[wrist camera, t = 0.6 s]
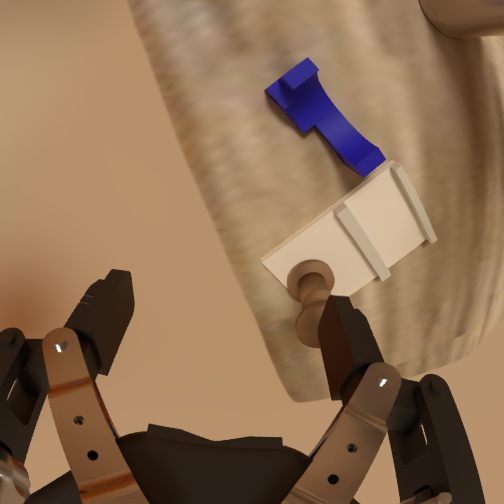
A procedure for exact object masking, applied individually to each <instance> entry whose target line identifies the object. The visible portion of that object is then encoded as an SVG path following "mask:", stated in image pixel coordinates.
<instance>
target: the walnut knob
mask: <svg viewBox="0 0 504 504" xmlns="http://www.w3.org/2000/svg"><path fill="white" fill-rule="evenodd" d="M334 283H335V278H334V274H333V272H332V270H331V268H330V267H329V265H328V264H326V263H325V262H323V261H321V260H316V259H310V260H305V261H302V262H300V263H298V264H297V265H295V266H294V267H293V268H292V269H291V270H290V272H289V274H288V276H287V287H288V291H289V294H290V295H291V296H292V298H294V299H295V300H297V301H299V302H301V304H302V308H303V311H302V312H301V313H300V314H299V316H298V318H297V320H296V332H297V336H298V339H299V340H300V341H301V342H302V343H303V344H304V345H306V346H309V347H312V348H320V344H319V340H318V324H319V321H320V318H321V315H322V313H323V310H324V307H325V304H326V302H327V299H328V297H329V296H330V295H331V293H330V292H331V291H332V289H333V287H334Z"/></svg>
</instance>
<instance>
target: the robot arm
mask: <svg viewBox="0 0 504 504" xmlns="http://www.w3.org/2000/svg"><path fill="white" fill-rule="evenodd" d="M419 1H420V4H421V7H422V9H423V11H424V13H425V14H426V16H427V18H428V19H429V20H430V21H431V23H432V24H433V25H434V26H435V27H436V28H437V29H438V30H440V31H441V32H442V33H443V34H445V35H447V36H449V37H451V38H454V39H463V38H472V37H484V36H499V35H504V0H419ZM134 303H135V302H134V294H133V287H132V277H131V273H130V272H129V271H124V270H116V269H112V270H111V271H110V272H109V274H108V275H107V276H106V278H105V280H101V279H99V280H98V281H96V282H95V283H93V284H92V285H91V286H90V287H89V289H88V290H87V291H86V293H85V294H84V296H83V297H82V299H81V300H80V303H78V305H77V306H76V308H75V309H74V311H73V313H72V314H71V316H70V317H69V319H68V321H67V322H66V324H65V325H64V327H62V328H56V329H53V330H51V331H50V332H49V333H47V334H46V336H45V337H44V339H26V338H25V336H24V334H23V332H22V331H21V330H19V329H17V328H8V329H5V330H3V331H2V332H0V504H360V503H359V502H357V501H356V500H355V499H354V498H353V497H354V495H355V494H356V492H357V490H358V488H359V487H360V485H361V483H362V481H363V480H364V478H365V476H366V474H367V472H368V470H369V468H370V466H371V465H372V463H373V460H374V459H375V457H376V455H377V452H378V450H379V448H380V446H381V444H382V442H383V440H384V437H385V435H386V433H387V431H388V436H389V441H390V445H391V450H392V455H393V461H394V466H395V471H396V478H397V483H398V490H399V496H400V504H485V499H484V495H483V490H482V486H481V482H480V478H479V474H478V470H477V467H476V463H475V460H474V456H473V453H472V450H471V447H470V444H469V440H468V437H467V434H466V431H465V428H464V426H463V423H462V420H461V417H460V415H459V412H458V409H457V406H456V404H455V401H454V399H453V396H452V394H451V391H450V389H449V386H448V385H447V383H446V382H445V380H444V379H442V378H441V377H440V376H438V375H435V374H427V375H425V376H424V377H423V378H422V379H421V380H420V381H419V382H417V381H412V380H407V379H403V378H401V376H400V374H399V372H398V371H397V370H396V369H395V368H394V367H393V366H391V365H389V364H387V363H385V362H384V360H383V357H382V355H381V352H380V350H379V347H378V345H377V342H376V340H375V337H374V336H373V332H372V330H371V329H370V325H369V323H368V321H367V318H366V317H365V316H364V315H363V314H362V312H361V311H360V310H359V309H354V308H353V306H352V303H351V301H350V299H349V297H348V296H340V295H330V296H329V297H328V299H327V302H326V304H325V307H324V310H323V313H322V315H321V318H320V321H319V324H318V340H319V344H320V348H321V353H322V357H323V362H324V366H325V371H326V376H327V380H328V385H329V390H330V395H331V399H332V401H333V400H342V404H343V406H342V407H341V409H340V411H339V412H338V414H337V415H336V417H335V418H334V420H333V421H332V423H331V425H330V426H329V428H328V429H327V431H326V432H325V434H324V435H323V437H322V438H321V440H320V441H319V442H318V444H317V445H316V446H315V448H314V449H313V450H312V452H311V453H310V454H309V455H308V456H307V455H305V454H304V453H302V452H300V451H298V450H296V449H293V448H290V447H287V446H283V443H282V437H252V436H249V437H243V438H236V439H230V440H222V441H212V440H209V439H205V438H203V437H200V436H197V435H195V434H192V433H189V432H186V431H184V430H181V429H176V428H170V427H164V426H159V425H153V424H149V425H148V430H147V431H143V432H135V433H131V434H127V435H125V436H122V437H120V436H119V434H118V432H117V430H116V428H115V427H114V425H113V422H112V420H111V418H110V416H109V414H108V412H107V409H106V407H105V404H104V402H103V399H102V397H101V395H100V392H99V390H98V387H97V384H96V382H95V380H96V377H97V375H98V374H102V375H106V376H107V375H108V373H109V371H110V368H111V366H112V363H113V361H114V358H115V355H116V353H117V351H118V348H119V346H120V343H121V341H122V339H123V336H124V334H125V332H126V329H127V327H128V325H129V322H130V320H131V318H132V316H133V312H134V305H135V304H134ZM14 381H16V382H15V385H14V387H13V389H12V391H11V393H10V396H9V398H8V394H9V392H10V390H11V388H12V385H13V384H14ZM47 395H48V400H49V404H50V408H51V411H52V415H53V419H54V422H55V425H56V429H57V432H58V435H59V438H60V441H61V444H62V447H63V450H64V453H65V455H66V458H67V461H68V463H69V466H70V469H71V470H70V471H68V472H67V473H65V474H64V475H62V476H61V477H59V478H57V479H56V480H54V481H52V482H51V483H49V484H47V485H46V486H44V487H43V488H41V489H39V490H38V491H36V492H34V493H32V494H30V492H29V488H30V481H29V476H28V472H27V470H26V468H25V467H24V463H25V459H26V455H27V452H28V448H29V445H30V442H31V439H32V436H33V433H34V430H35V427H36V423H37V421H38V418H39V415H40V412H41V409H42V407H43V404H44V401H45V399H46V396H47ZM7 398H8V400H7ZM421 425H423V428H424V431H425V435H426V438H427V445H426V441H425V438H424V434H423V430H422V427H421Z"/></svg>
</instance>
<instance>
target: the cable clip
mask: <svg viewBox="0 0 504 504" xmlns="http://www.w3.org/2000/svg"><path fill="white" fill-rule="evenodd" d="M318 71H319V69H318V68H317V67H316V66H315V65H314V63H313V62H312V61H311V60H310V59H309V58H306V59H305V60H303V61H302V62H300V63H299V64H298V65H296V66H295V67H294V68H292V69H291V70H290V71H288V72H287V73H286V74H284V75H283V76H282V77H281V78H279V79H278V80H277V81H276V82H274V83H273V84H272V85H271V86H269V87H268V88H267V89H266V90H264V91H265V92H266V93H267V94H268V95H269V96H270V97H271V98H272V99H273V100H274V101H275V102H276V103H277V105H278V106H279V107H280V108H281V109H282V110H283V111H284V112H285V113H286V115H287V116H288V117H289V118H290V119H291V120H292V121H293V122H294V124H295V125H296V126H297V127H298V128H299V129H300V130H301V132H303V133H305V132H306V131H307V130H309V129H310V128H311V127H312V126H315V127H316V129H317V130H318V131H319V132H320V134H321V135H322V136H323V137H324V139H325V140H326V141H327V142H328V144H329V145H330V146H331V147H332V149H333V150H334V151H335V153H336V154H337V155H338V156H339V158H340V159H341V160H342V162H343V163H344V164H345V165H346V166H347V167H349V168H350V169H352V170H353V171H355V172H356V173H357V174H359V175H360V176H362V177H363V178H364V177H365V176H367V175H368V174H369V173H370V172H372V171H373V170H374V169H375V168H376V167H378V166H379V165H380V164H381V163H383V162H384V161H385V160H386V159H385V157H384V155H383V154H382V152H381V151H380V149H379V148H378V147H376V146H375V145H373V144H372V143H370V142H369V141H368V140H366V139H365V138H364V137H363V136H362V135H361V134H360V133H359V132H358V131H357V130H356V129H355V128H354V127H353V126H352V125H351V124H350V123H349V122H348V121H347V120H346V119H345V117H344V116H343V115H342V114H341V113H340V112H339V110H338V109H337V108H336V107H335V105H334V104H333V103H332V101H331V100H330V99H329V97H328V96H327V94H326V93H325V91H324V89H323V88H322V86H321V84H320V82H319V80H318V76H317V72H318Z"/></svg>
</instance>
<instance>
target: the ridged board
mask: <svg viewBox="0 0 504 504" xmlns="http://www.w3.org/2000/svg"><path fill="white" fill-rule="evenodd" d="M426 239H427V240H428V241H429V242H430V243H431V244H433V243H434V242H435V241H436V240H437V237H436V235H435V233H434V230H433V228H432V226H431V223H430V221H429V219H428V216H427V214H426V212H425V210H424V208H423V206H422V204H421V201H420V199H419V197H418V195H417V193H416V191H415V189H414V187H413V185H412V183H411V181H410V179H409V178H408V176H407V174H406V172H405V170H404V168H403V166H402V165H401V164H399V163H397V162H395V161H393V160H390V161H389V162H388V163H386V164H385V165H384V166H383V167H381V168H380V169H379V170H377V171H376V172H375V173H373V174H372V175H371V176H369V177H368V178H367V179H365V180H364V181H363V182H362V183H360V184H359V185H358V186H356V187H355V188H354V189H352V190H351V191H350V192H348V193H347V194H346V195H344V196H343V197H342V198H340V199H339V200H338V201H336V202H335V203H334V204H332V205H331V206H330V207H328V208H327V209H326V210H324V211H323V212H322V213H320V214H319V215H318V216H316V217H315V218H314V219H312V220H311V221H310V222H308V223H307V224H306V225H304V226H303V227H302V228H300V229H299V230H298V231H296V232H295V233H294V234H292V235H291V236H290V237H288V238H287V239H286V240H284V241H283V242H282V243H280V244H279V245H278V246H276V247H275V248H274V249H272V250H271V251H270V252H268V253H267V254H266V255H264V256H263V257H262V258H261V260H262V263H263V264H264V265H265V266H266V267H267V268H268V270H269V271H270V272H271V273H272V274H273V275H274V276H275V277H276V278H277V279H278V280H279V281H280V282H281V283H282V284H283V285H284V286H285V287H286V288H287V289H288V287H287V276H288V274H289V272H290V270H291V269H292V268H293V267H294V266H295V265H297V264H298V263H300V262H302V261H305V260H310V259H316V260H321V261H323V262H325V263H326V264H328V265H329V267H330V268H331V270H332V272H333V274H334V278H335V283H334V287H333V289H332V291H331V292H330V293H331V295H340V296H350V295H351V294H353V293H354V292H356V291H357V290H358V289H360V288H361V287H363V286H364V285H366V284H367V283H368V282H370V281H371V280H373V279H374V278H376V277H377V276H379V277H380V279H381V280H382V282H383V281H384V280H386V279H387V278H388V277H390V276H391V273H390V272H389V270H388V268H389V267H391V266H392V265H393V264H395V263H396V262H397V261H399V260H400V259H401V258H403V257H404V256H405V255H407V254H408V253H409V252H411V251H412V250H413V249H414V248H416V247H417V246H418V245H420V244H421V243H422V242H423V241H425V240H426Z"/></svg>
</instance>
